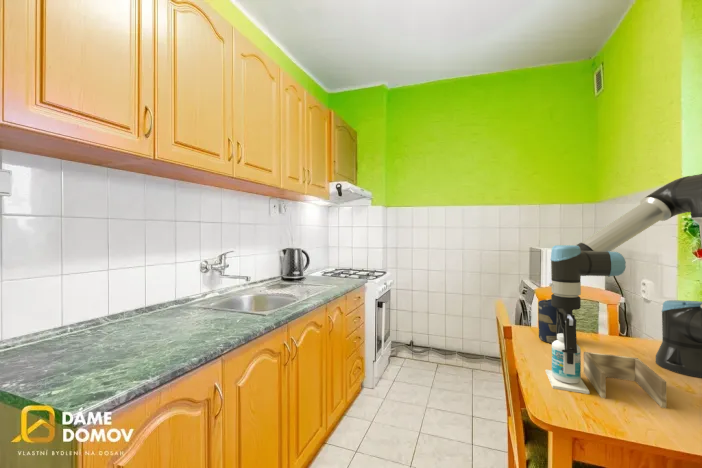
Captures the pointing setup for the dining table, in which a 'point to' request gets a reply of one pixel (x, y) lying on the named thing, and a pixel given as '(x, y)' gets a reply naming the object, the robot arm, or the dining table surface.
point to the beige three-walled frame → (623, 374)
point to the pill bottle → (559, 362)
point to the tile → (567, 384)
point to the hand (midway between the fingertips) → (565, 367)
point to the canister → (547, 321)
